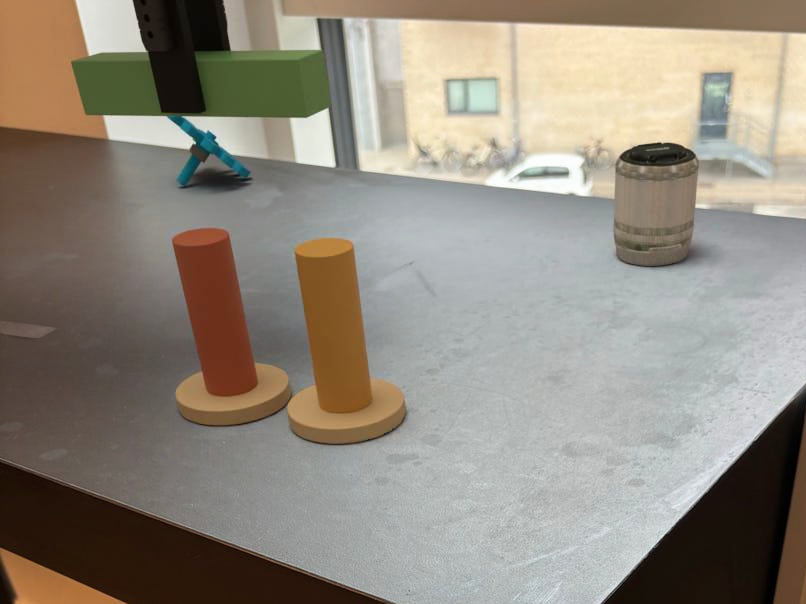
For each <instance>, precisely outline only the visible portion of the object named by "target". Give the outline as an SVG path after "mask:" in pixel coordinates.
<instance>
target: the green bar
mask: <svg viewBox="0 0 806 604" xmlns="http://www.w3.org/2000/svg"><path fill="white" fill-rule="evenodd" d="M194 52H195V57H196V63H197V68H198V73H199V78H200V83H201V87H202V92H203V97H204V102H205V107H206V111H205V112H202V113H200V114H190V113H161V109H160V104H159V100H158V95H157V91H156V87H155V82H154V78H153V73H152V69H151V64H150V60H149V56H148V51H120V52H119V51H118V52H117V51H116V52H115V51H114V52H113V51H111V52H110V51H109V52H105V51H103V52H98V53H95V54H91V55H87V56H84V57H81V58H76V59H74V60H71V61H70V65H71V68H72V72H73V75H74V79H75V82H76V86H77V90H78V93H79V96H80V100H81V105H82V107H83V111H84V115H85V116H116V117H117V116H121V117H123V116H124V117H128V116H129V117H166V116H182V117H194V118H195V117H196V118H198V117H200V118H206V117H207V118H210V117H211V118H276V119H277V118H279V119H280V118H281V119H283V118H284V119H307V118H310V117H312V116H314V115H316V114H318V113H321V112H323V111H325V110H327V109H329V108H331V107H332V105H331V104H332V103H331V97H330V89H329V82H328V75H327V68H326V61H325V54H324V49H273V50H271V49H270V50H268V49H267V50H264V49H263V50H262V49H261V50H231V51H194Z"/></svg>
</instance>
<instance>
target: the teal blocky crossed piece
mask: <svg viewBox="0 0 806 604" xmlns="http://www.w3.org/2000/svg"><path fill="white" fill-rule="evenodd" d="M165 118H167V119H168V120H170V121H171V122H172V123H174V124H175V125H176V126H178V128H179V129H180V130H182V131H183V132H184V133H185V134H186V135H188V136H189V137H190V138H192V141H193V143H192V144H191V146H190V147H189V152H190V154H191V155H190V156H189V157H188V160H187V161H186V162H185V164H184V165H183V167H182V169H181V170H180V174H179V175H178V177H177V178H176V182H178V184H180V185H181V186H183V187H184V188H185V187H186V186H187V185H188V183H189V181H190V180H191V178H192V177H193V176H194V173H195V172H196V171H197V169H198V167H199V166H200V164H201V163H203V164H205V163H206V161H207V159H208V158H209V156H210V155H214V156H215V157H216V158H218V159H219V160H220V161H221V162H222V163H223V164H225V166H227V167H228V168H229V169H232V170H233V171H234V172H235V173H237V174H238V176H241V177H242V178H243V179H245V180H246V179H247V178H249V176H250V175H251V170H249V169H248V168H247V167H245V165H244V164H243V163H242V162H240V161H239V160H238V159H237V158H235V157H234V156H233V155H232V154H231V153H229V152H228V151H227V150H226V149H225V148H223V147H222V146H221V145H219V142H217V141H216V140H217V137H218V136H217V135H215V134H214V133H212V131H210V130H209V129H207V130H206V132H205V131H204V130H202V129H200V128H198V127H197V126H195V125H194V123H192V122H191V121H189V120H188V119H187V118H186V117H185V116H165Z"/></svg>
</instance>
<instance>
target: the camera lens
mask: <svg viewBox="0 0 806 604" xmlns="http://www.w3.org/2000/svg"><path fill="white" fill-rule="evenodd" d="M614 167H615V171H614V175H615V176H614V198H613V199H614V201H613V240H614V246H615V251H616V256H617V258H618V259H619V260H621V261H622V262H624V263H627V264H630V265H635V266H645V267H658V266H668V265H672V263H673V264H676V263H680V262H681V261H683V260H684V259H685V258H687V256H688V253H689V249H690V246H691V244H692V239H693V234H694V229H695V216H696V215H695V214H696V203H697V192H698V191H697V189H698V178H699V176H698V175H699V168H700V161H699V159H698V156H697V154H696V153H695V152H694V151H693V150H691V149H690V148H687V147H685V146H683V145H682V144H678V143H675V142H669V141H668V142H660V141H658V142H651V143H642V144H638V145H635V146H634V145H633V146H632V147H631V148H628V149H626V150H625V151H623V152H622V153H621V154H620V155H619V156H618V157H617V159H616V161H615V165H614Z"/></svg>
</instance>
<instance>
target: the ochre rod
mask: <svg viewBox="0 0 806 604" xmlns="http://www.w3.org/2000/svg"><path fill="white" fill-rule="evenodd" d="M293 253H294V256H295V263H296V271H297V275H298V282H299V289H300V295H301V301H302V309H303V314H304V320H305V327H306V332H307V333H306V334H307V340H308V346H309V352H310V357H311V364H312V365H311V366H312V370H313V377H314V384H312V385H310V386H307V387H305V388H303V389H302V390H301V391H298V392H297V393H296V394H294V395H293V396H291V398H290V399H289V401H288V402H287V407H286V412H287V418H288V423H289V427H290V429H291V430H292V432H293V433H295V434H296V435H297V436H298V437H301V438H302V439H305V440H307V441H311V442H315V443H319V444H329V445H330V444H331V445H343V444H354V443H360V442H365V441H369V440H372V439H375V438H378V437H381V436H384V435H385V434H384V433H386V434H388V433H390V432H391V431H392V430H391V429H393V428H394V427H396V426H397V425H398V424H399V425H401V423H402V422H403V421H402V420H404V419H405V416H406V414H407V412H406V411H407V409H406V400H405V399H406V398H405V394H404V392H403V391H402V389H400V387H399V386H397V385H396V384H394V383H392V382H389V381H386V380H383V379H379V378H372V377H371V376H370V375H371V374H370V368H369V360H368V359H369V358H368V352H367V343H366V335H365V326H364V319H363V311H362V303H361V294H360V285H359V279H358V278H359V277H358V271H357V261H356V253H355V245H354V243H353V242H352V241H351V240H349V239H346V238H341V237H321V238H316V239H310V240H307V241H304V242H301V243H299V244H297V246H295V248H294V252H293ZM405 413H406V414H405ZM403 418H404V419H403ZM401 421H402V422H401ZM399 425H398V426H399ZM398 426H397V427H398ZM397 427H396V428H397ZM394 429H395V428H394ZM394 429H393V430H394ZM387 432H388V433H387ZM368 439H369V440H368Z"/></svg>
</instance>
